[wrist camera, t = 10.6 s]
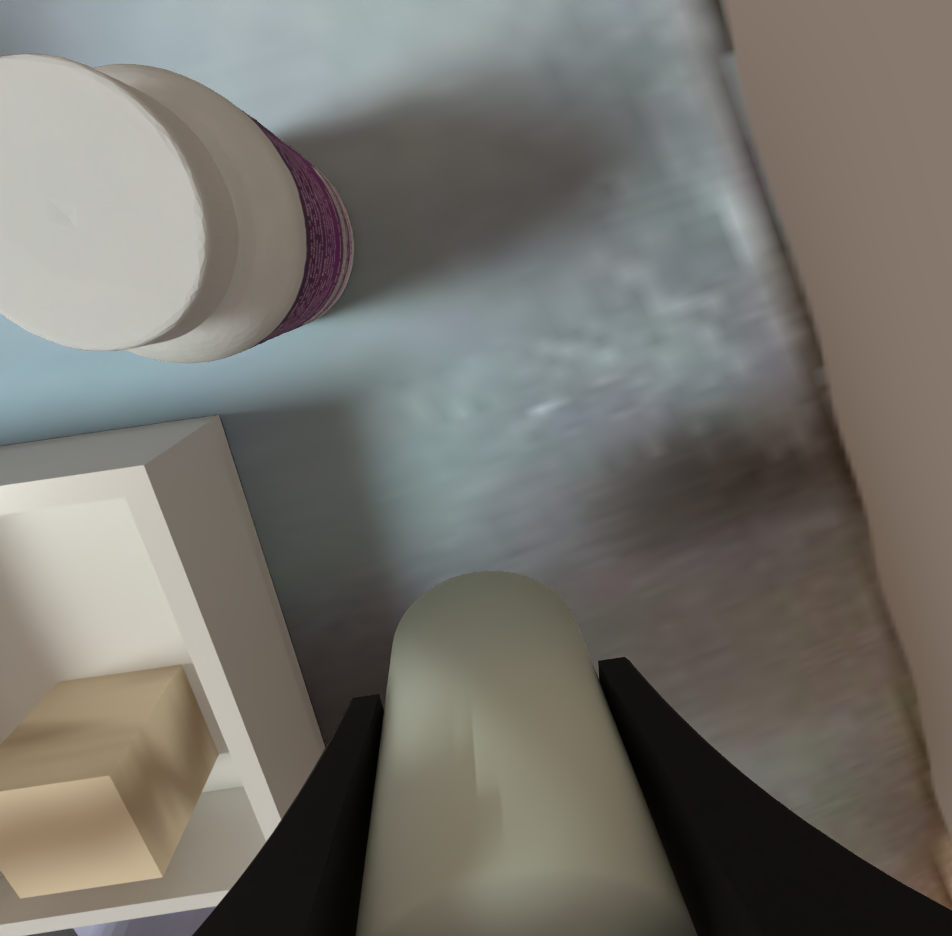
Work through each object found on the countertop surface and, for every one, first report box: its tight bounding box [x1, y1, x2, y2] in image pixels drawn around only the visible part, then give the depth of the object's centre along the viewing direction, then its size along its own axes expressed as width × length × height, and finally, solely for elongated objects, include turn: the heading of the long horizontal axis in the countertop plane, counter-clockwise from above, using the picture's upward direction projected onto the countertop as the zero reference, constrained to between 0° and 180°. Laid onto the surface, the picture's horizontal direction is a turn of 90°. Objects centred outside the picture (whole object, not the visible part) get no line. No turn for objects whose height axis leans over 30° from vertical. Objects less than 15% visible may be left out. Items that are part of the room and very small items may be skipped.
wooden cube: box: [0, 664, 219, 899], centre depth 20 cm, size 5×5×5 cm
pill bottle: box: [0, 54, 354, 363], centre depth 12 cm, size 5×5×10 cm
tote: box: [0, 415, 325, 936], centre depth 19 cm, size 18×14×5 cm
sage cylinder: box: [356, 571, 698, 936], centre depth 11 cm, size 5×5×7 cm
